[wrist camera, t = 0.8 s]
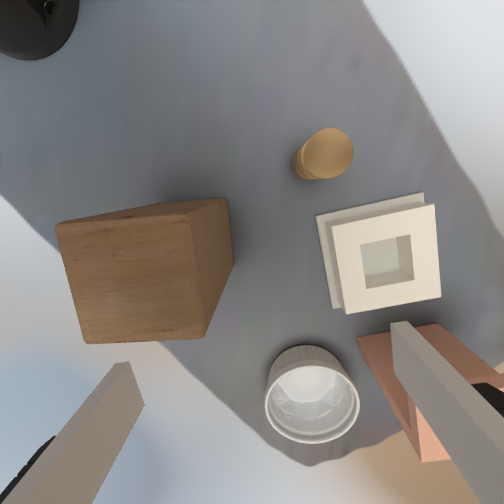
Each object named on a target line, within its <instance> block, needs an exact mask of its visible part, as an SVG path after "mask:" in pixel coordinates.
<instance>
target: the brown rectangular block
mask: <svg viewBox="0 0 504 504" xmlns="http://www.w3.org/2000/svg"><path fill="white" fill-rule="evenodd" d="M414 328H415V329H416V330H417V331H418V332H419V333H420V334H421V335H422V336H423V337H424V338H425V339H426V340H427V341H428V342H429V343H430V344H431V345H432V346H433V347H434V348H435V349H436V350H437V351H438V352H439V353H440V354H441V355H442V356H443V357H444V358H445V359H446V360H447V361H448V362H449V363H450V364H451V365H452V366H453V367H454V368H455V370H456V371H457V372H458V373H459V374H460V375H461V376H462V377H463V378H464V379H465V380H466V381H467V382H468V383H469V384H476V383H485V382H486V383H488V384H490V385H492V386H494V387H496V388H497V389H499V390H501V391H503V392H504V373H503V374H499V373H498V372H496V371H495V370H494V369H493V368H492V367H490V366H489V365H488V364H487V363H485V362H484V361H483V360H482V359H481V358H479V357H478V356H477V355H476V354H475V353H473V352H472V351H471V350H470V349H469V348H467V347H466V346H465V345H464V344H462V343H461V342H460V341H459V340H458V339H456V338H455V337H454V336H453V335H452V334H450V333H449V332H448V331H447V330H446V329H444V328H443V327H442V326H441V325H439V324H438V323H437V324H431V325H425V326H419V327H414ZM357 340H358V347H359V350H360V352H361V353H362V355H363V357H364V359H365V361H366V362H367V364H368V366H369V368H370V370H371V371H372V373H373V375H374V377H375V379H376V381H377V382H378V384H379V386H380V388H381V390H382V391H383V393H384V395H385V397H386V399H387V400H388V402H389V404H390V406H391V408H392V410H393V411H394V413H395V415H396V417H397V419H398V420H399V422H400V424H401V426H402V428H403V429H404V431H405V433H406V435H407V437H408V438H409V440H410V442H411V444H412V446H413V448H414V449H415V451H416V453H417V455H418V456H419V458H420V460H421V462H431V461H438V460H446V459H451V458H450V456H449V455H448V453H447V452H446V450H445V449H444V447H443V445H442V444H441V442H440V441H439V439H438V438H437V436H436V435H435V433H434V432H433V430H432V429H431V427H430V426H429V424H428V423H427V421H426V420H425V418H424V417H423V415H422V414H421V412H420V411H419V409H418V408H417V406H416V405H415V403H414V402H413V400H412V399H411V397H410V396H409V394H408V393H407V391H406V390H405V388H404V387H403V385H402V384H401V382H400V381H399V379H398V378H397V376H396V375H395V373H394V365H393V353H392V340H391V331H390V332H385V333H379V334H373V335H367V336H362V337H357Z"/></svg>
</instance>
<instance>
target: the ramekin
mask: <svg viewBox="0 0 504 504" xmlns="http://www.w3.org/2000/svg"><path fill="white" fill-rule="evenodd" d="M264 404H265V412H266V415H267V418H268V420H269V422H270V424H271V425H272V426H273V427H274V429H275V430H277V431H278V432H279V433H280V434H282V435H283V436H285V437H287V438H289V439H291V440H294V441H297V442H301V443H308V444H316V443H324V442H328V441H331V440H333V439H336V438H338V437H340V436H341V435H343V434H344V433H346V432H347V431H348V430H349V429H350V428H351V427H352V425H353V424H354V422H355V421H356V419H357V416H358V413H359V408H360V401H359V396H358V392H357V390H356V387H355V385H354V383H353V381H352V380H351V378H350V377H349V376H348V375H347V374H346V372H345V370H344V369H343V367H342V366H341V364H340V363H339V361H338V360H337V359H336V358H335V357H334V356H333V355H332V354H331V353H330V352H328V351H326V350H325V349H322V348H320V347H317V346H312V345H301V346H296V347H292V348H290V349H288V350H286V351H284V352H283V353H282V354H280V355H279V356H278V357H277V358H276V360H275V361H274V363H273V365H272V367H271V370H270V373H269V378H268V384H267V388H266V391H265V397H264Z"/></svg>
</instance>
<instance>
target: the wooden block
mask: <svg viewBox="0 0 504 504" xmlns="http://www.w3.org/2000/svg"><path fill="white" fill-rule="evenodd" d="M55 232H56V236H57V240H58V244H59V248H60V251H61V255H62V259H63V263H64V267H65V270H66V274H67V278H68V282H69V286H70V289H71V293H72V297H73V301H74V305H75V308H76V312H77V316H78V319H79V324H80V327H81V331H82V335H83V339H84V341H85V342H86V343H87V344H105V343H126V342H145V341H146V342H147V341H168V340H189V339H200V338H203V337H204V336H205V333H206V331H207V329H208V326H209V324H210V321H211V319H212V316H213V314H214V311H215V309H216V306H217V304H218V302H219V299H220V297H221V294H222V292H223V289H224V287H225V284H226V282H227V280H228V277H229V275H230V272H231V270H232V267H233V265H234V259H233V250H232V241H231V231H230V222H229V212H228V203H227V199H226V198H212V199H201V200H189V201H177V202H166V203H157V204H152V205H147V206H142V207H137V208H131V209H126V210H121V211H116V212H111V213H105V214H100V215H95V216H90V217H85V218H79V219H74V220H69V221H64V222H60V223H59V224H57V225H56V226H55Z"/></svg>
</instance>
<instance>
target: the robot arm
mask: <svg viewBox="0 0 504 504" xmlns="http://www.w3.org/2000/svg"><path fill="white" fill-rule="evenodd" d="M77 10H78V0H0V52H1V53H3V54H6V55H8V56H10V57H13V58H17V59H23V60H35V59H40V58H43V57H46V56H48V55H50V54H52V53H53V52H55V51H56V50H57V49H58V48H60V47H61V46H62V45H63V43H64V42H65V41H66V39H67V38H68V36H69V35H70V33H71V31H72V29H73V26H74V23H75V20H76V16H77ZM390 328H391V340H392V353H393V365H394V373H395V375H396V376H397V378H398V379H399V381H400V382H401V384H402V385H403V387H404V388H405V390H406V391H407V393H408V394H409V396H410V397H411V399H412V400H413V402H414V403H415V405H416V406H417V408H418V409H419V411H420V412H421V414H422V415H423V417H424V418H425V420H426V421H427V423H428V424H429V426H430V427H431V429H432V430H433V432H434V433H435V435H436V436H437V438H438V439H439V441H440V442H441V444H442V445H443V447H444V449H445V450H446V452H447V453H448V455H449V456H450V458H451V459H452V461H453V462H454V464H455V465H456V467H457V468H458V469H459V471H460V473H461V474H462V476H463V477H464V479H465V480H466V482H467V483H468V485H469V486H470V488H471V489H472V491H473V492H474V494H475V495H476V496H477V498H478V500H479V501H480V503H481V504H504V392H503V391H501V390H499V389H497V388H496V387H494V386H492V385H490V384H488V383H486V382H485V383H476V384H469V383H468V382H467V381H466V380H465V379H464V378H463V377H462V376H461V375H460V374H459V373H458V372H457V371H456V370H455V368H454V367H453V366H452V365H451V364H450V363H449V362H448V361H447V360H446V359H445V358H444V357H443V356H442V355H441V354H440V353H439V352H438V351H437V350H436V349H435V348H434V347H433V346H432V345H431V344H430V343H429V342H428V341H427V340H426V339H425V338H424V337H423V336H422V335H421V334H420V333H419V332H418V331H417V330H416V329H415V328H414V327H413V326H412V325H411V324H410V323H409V322H408V321H402V322H395V323H390ZM143 407H144V402H143V399H142V396H141V393H140V390H139V388H138V385H137V382H136V379H135V376H134V373H133V371H132V368H131V365H130V362H123V363H115V365H114V366H113V367H112V368H111V370H110V371H109V372H108V373H107V374H106V376H105V377H104V378H103V379H102V381H101V382H100V383H99V384H98V386H97V387H96V388H95V389H94V391H93V392H92V393H91V394H90V395H89V397H88V398H87V399H86V400H85V402H84V403H83V404H82V405H81V407H80V408H79V409H78V410H77V411H76V413H75V414H74V415H73V416H72V418H71V419H70V420H69V421H68V422H67V424H66V425H65V426H64V427H63V429H62V430H61V431H60V432H59V433H58V435H57V436H53V437H52V438H51V439H50V440H48V441H47V442H46V443H45V444H44V445H43V446H41V447H40V448H39V449H38V450H37V452H36V453H35V454H34V455H33V456H32V458H31V459H30V460H29V461H28V463H27V465H25V466H24V467H23V468H22V469H21V471H20V472H19V473H18V475H17V477H15V478H14V479H13V480H12V481H11V482H10V484H9V485H8V486H7V487H6V489H5V490H4V491H3V492H2V493H1V494H0V504H92V502H93V500H94V498H95V497H96V495H97V493H98V491H99V489H100V487H101V485H102V483H103V482H104V480H105V478H106V476H107V474H108V472H109V471H110V468H111V467H112V465H113V463H114V461H115V459H116V457H117V456H118V454H119V452H120V450H121V448H122V446H123V444H124V443H125V441H126V439H127V437H128V435H129V433H130V431H131V429H132V428H133V426H134V424H135V422H136V420H137V418H138V416H139V415H140V413H141V411H142V409H143Z"/></svg>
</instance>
